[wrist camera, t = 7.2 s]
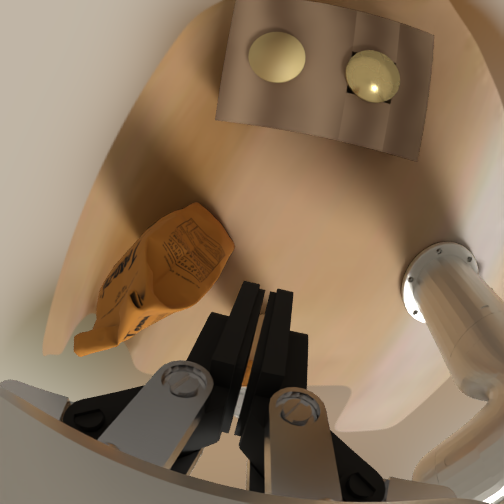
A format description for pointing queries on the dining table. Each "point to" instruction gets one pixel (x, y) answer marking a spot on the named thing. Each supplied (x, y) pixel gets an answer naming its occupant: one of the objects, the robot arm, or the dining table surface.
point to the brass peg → (372, 76)
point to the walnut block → (323, 74)
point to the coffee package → (158, 277)
